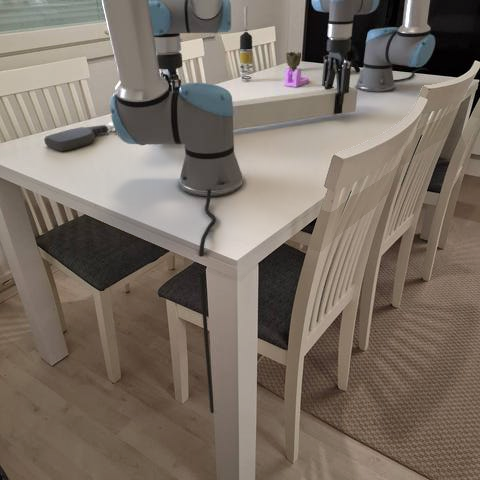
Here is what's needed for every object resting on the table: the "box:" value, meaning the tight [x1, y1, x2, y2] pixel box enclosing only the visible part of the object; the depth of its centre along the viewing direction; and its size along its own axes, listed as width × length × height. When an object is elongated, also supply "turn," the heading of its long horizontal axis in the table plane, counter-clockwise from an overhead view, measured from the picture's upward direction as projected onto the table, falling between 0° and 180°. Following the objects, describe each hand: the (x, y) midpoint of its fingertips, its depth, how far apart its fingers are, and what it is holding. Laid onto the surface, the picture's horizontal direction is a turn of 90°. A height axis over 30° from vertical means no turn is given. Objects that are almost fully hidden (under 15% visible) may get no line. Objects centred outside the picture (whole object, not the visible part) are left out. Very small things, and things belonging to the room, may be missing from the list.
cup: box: [285, 51, 302, 72], centre depth 220 cm, size 8×7×8 cm
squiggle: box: [340, 45, 361, 73], centre depth 214 cm, size 11×10×15 cm
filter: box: [239, 6, 253, 82], centre depth 196 cm, size 6×6×30 cm
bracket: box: [284, 67, 310, 88], centre depth 196 cm, size 13×6×7 cm, turn 143°
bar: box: [232, 86, 359, 131], centre depth 143 cm, size 71×5×7 cm, turn 113°
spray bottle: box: [44, 121, 116, 152], centre depth 139 cm, size 3×11×25 cm
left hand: (176, 134), depth 136 cm, fingers closed on bar, 5 cm apart
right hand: (332, 110), depth 154 cm, fingers closed on bar, 5 cm apart
